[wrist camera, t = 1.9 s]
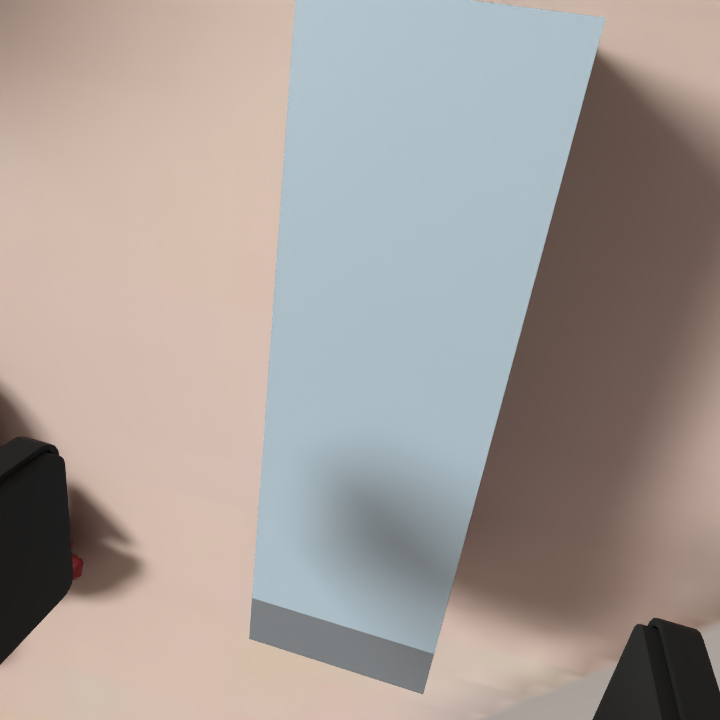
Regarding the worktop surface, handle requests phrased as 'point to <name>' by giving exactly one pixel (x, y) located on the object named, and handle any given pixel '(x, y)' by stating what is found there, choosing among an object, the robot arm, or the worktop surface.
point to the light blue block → (400, 306)
